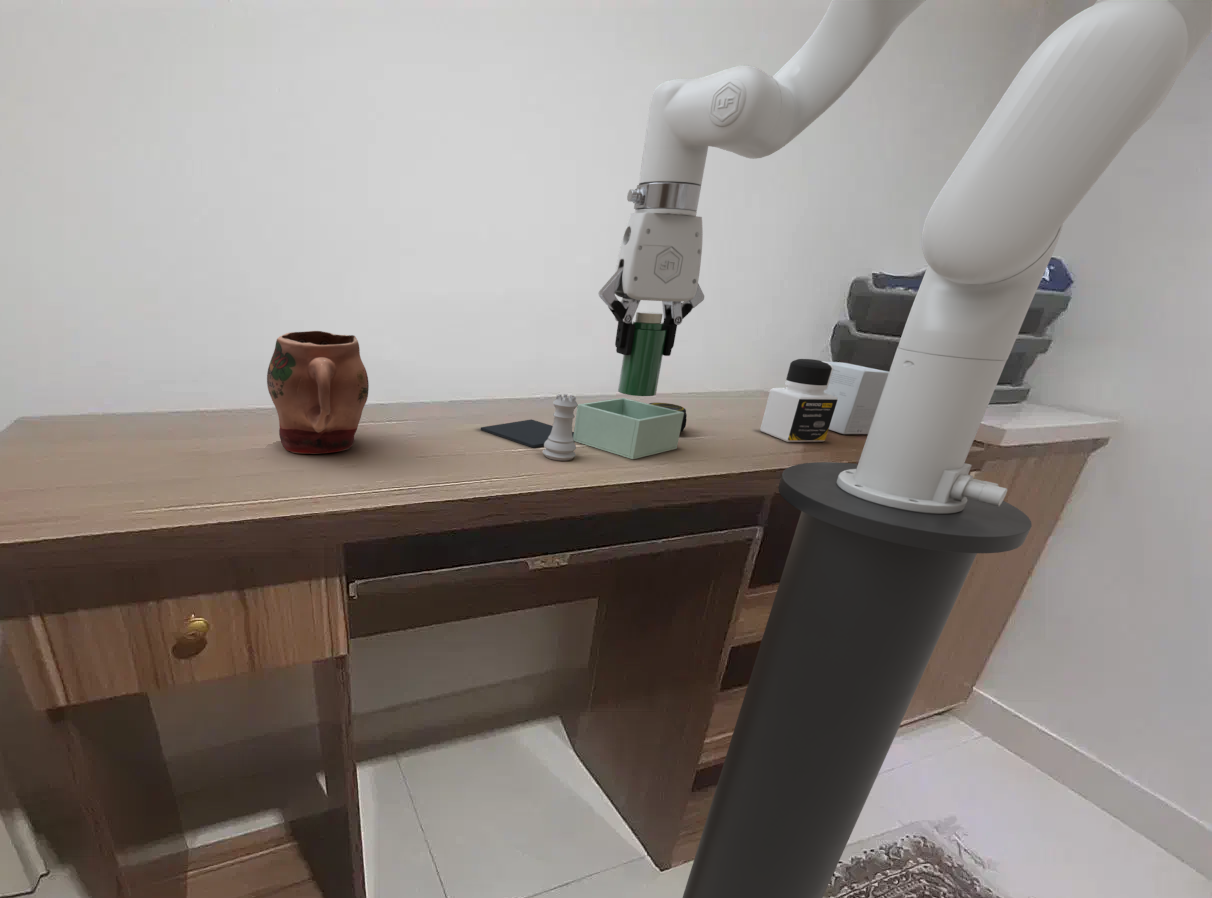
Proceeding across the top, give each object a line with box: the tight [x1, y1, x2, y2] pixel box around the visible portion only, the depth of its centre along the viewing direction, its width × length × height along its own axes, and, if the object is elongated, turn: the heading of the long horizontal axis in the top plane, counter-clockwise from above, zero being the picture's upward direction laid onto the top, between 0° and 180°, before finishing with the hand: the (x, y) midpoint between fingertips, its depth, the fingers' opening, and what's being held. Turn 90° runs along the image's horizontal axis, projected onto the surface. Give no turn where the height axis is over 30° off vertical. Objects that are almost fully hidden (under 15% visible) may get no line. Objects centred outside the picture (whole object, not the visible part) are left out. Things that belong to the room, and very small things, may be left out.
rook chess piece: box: [542, 393, 579, 462], centre depth 85 cm, size 4×4×8 cm
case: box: [573, 397, 684, 460], centre depth 93 cm, size 11×11×5 cm
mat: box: [480, 418, 574, 449], centre depth 96 cm, size 11×11×1 cm
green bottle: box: [617, 311, 667, 397], centre depth 88 cm, size 5×5×10 cm
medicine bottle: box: [759, 358, 838, 443], centre depth 102 cm, size 7×7×12 cm
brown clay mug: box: [266, 330, 370, 455], centre depth 80 cm, size 20×12×14 cm, turn 21°
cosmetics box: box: [824, 361, 889, 435], centre depth 111 cm, size 10×6×10 cm, turn 15°
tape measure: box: [648, 402, 688, 433], centre depth 103 cm, size 7×7×4 cm
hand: (643, 352), depth 88 cm, fingers closed on green bottle, 5 cm apart
